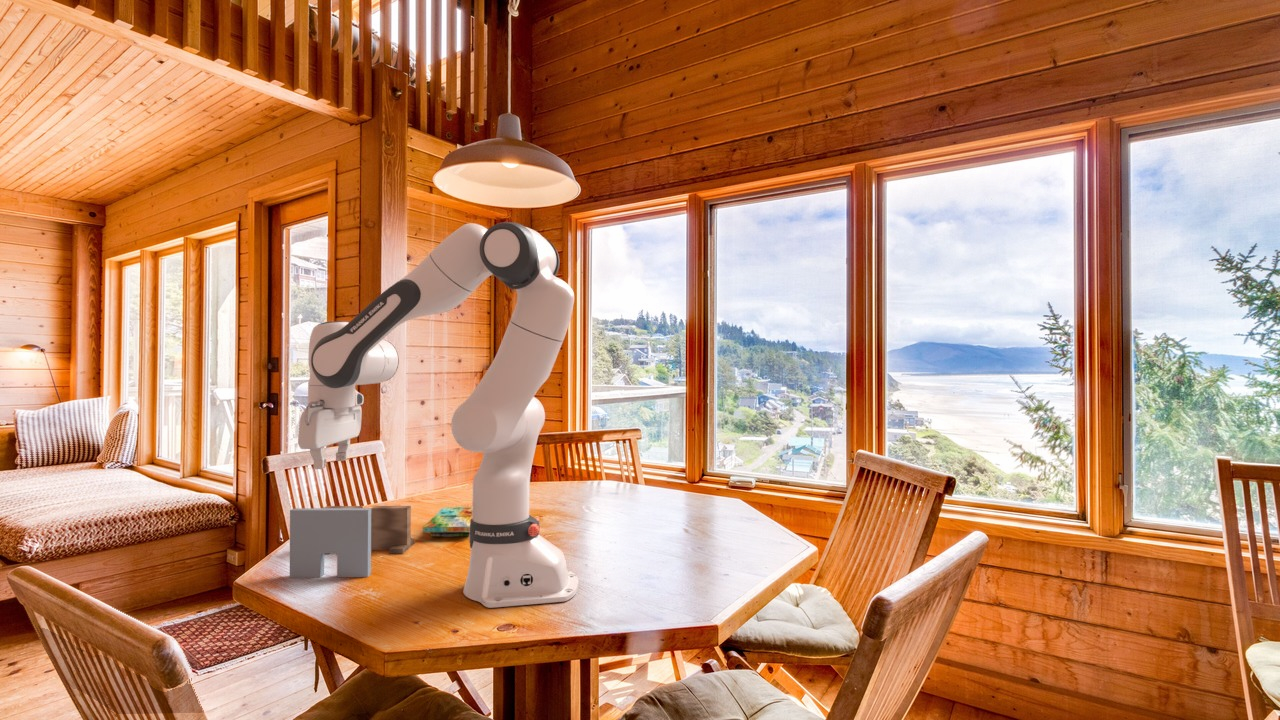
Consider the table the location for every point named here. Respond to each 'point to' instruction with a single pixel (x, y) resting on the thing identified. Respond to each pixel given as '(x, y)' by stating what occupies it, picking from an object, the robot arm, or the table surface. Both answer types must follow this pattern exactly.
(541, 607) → the table surface
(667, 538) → the table surface
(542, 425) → the robot arm
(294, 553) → the grey notched slab
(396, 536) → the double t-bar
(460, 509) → the puzzle game
